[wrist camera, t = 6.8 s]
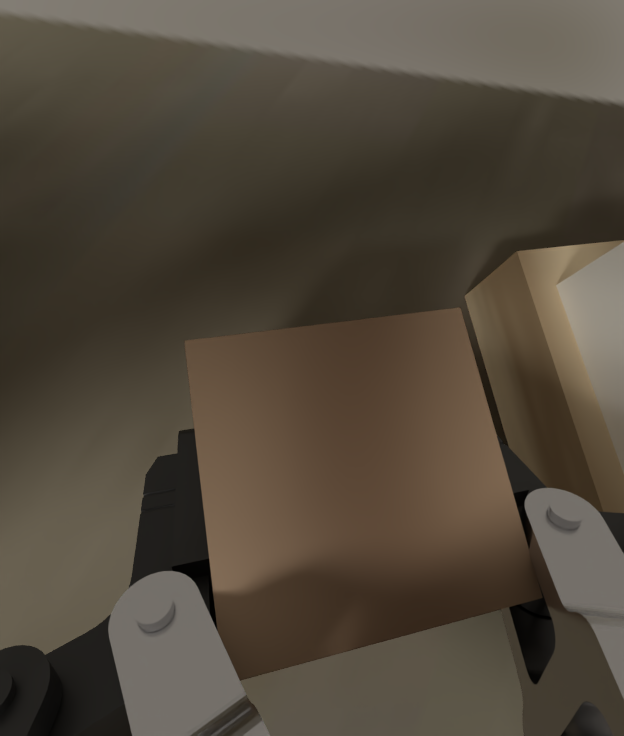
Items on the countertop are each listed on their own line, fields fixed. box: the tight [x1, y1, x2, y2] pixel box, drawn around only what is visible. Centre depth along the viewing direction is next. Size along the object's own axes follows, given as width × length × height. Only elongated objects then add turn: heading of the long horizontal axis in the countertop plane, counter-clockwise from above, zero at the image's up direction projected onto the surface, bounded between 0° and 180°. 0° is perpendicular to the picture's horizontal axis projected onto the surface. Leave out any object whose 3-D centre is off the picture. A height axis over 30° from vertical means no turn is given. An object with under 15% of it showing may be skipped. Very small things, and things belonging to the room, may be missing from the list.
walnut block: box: [184, 307, 543, 680], centre depth 11 cm, size 5×5×8 cm
